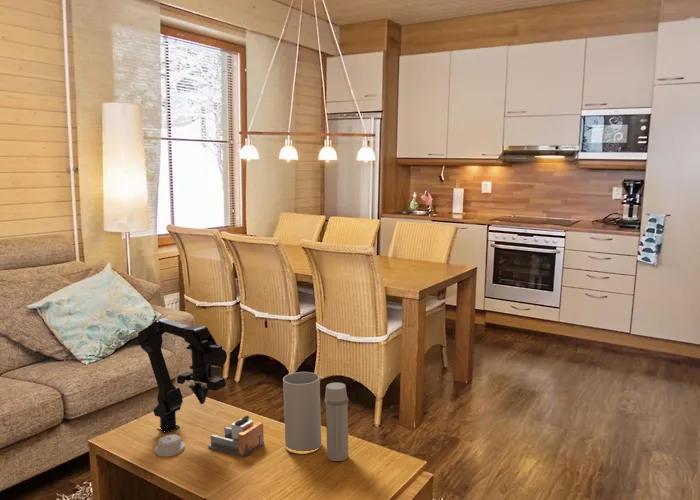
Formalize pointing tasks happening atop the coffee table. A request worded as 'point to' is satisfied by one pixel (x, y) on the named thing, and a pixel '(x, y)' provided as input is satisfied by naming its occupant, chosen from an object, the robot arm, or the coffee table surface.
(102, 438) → the coffee table surface
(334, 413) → the water bottle
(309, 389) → the cylinder vase
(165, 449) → the mechanical component
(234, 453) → the grey and orange holder
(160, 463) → the coffee table surface
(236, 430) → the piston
